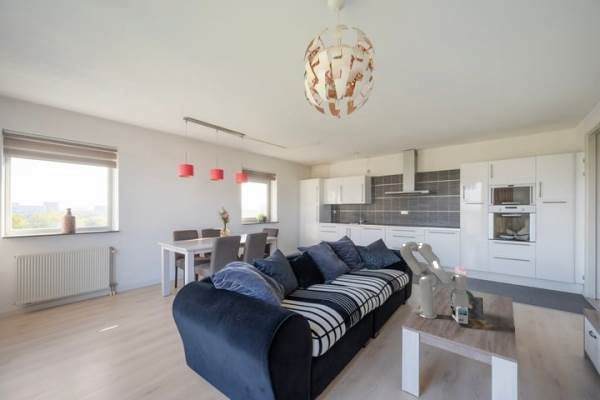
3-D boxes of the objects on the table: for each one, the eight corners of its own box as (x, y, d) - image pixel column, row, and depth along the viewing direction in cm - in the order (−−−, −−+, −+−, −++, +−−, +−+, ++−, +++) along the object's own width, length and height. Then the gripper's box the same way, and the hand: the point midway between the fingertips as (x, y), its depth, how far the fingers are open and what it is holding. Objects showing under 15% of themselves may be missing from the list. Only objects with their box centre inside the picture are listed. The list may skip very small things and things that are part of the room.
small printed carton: (472, 328, 177) (471, 302, 178) (464, 320, 191) (463, 296, 192) (492, 330, 174) (491, 303, 175) (482, 321, 188) (481, 297, 189)
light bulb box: (468, 324, 178) (468, 308, 179) (457, 323, 180) (457, 307, 180) (461, 317, 189) (461, 303, 189) (451, 316, 190) (452, 302, 190)
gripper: (448, 291, 183) (448, 316, 183) (475, 294, 179) (475, 319, 179) (445, 288, 190) (445, 312, 190) (471, 290, 187) (470, 315, 186)
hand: (459, 315), depth 184 cm, fingers closed on light bulb box, 6 cm apart
